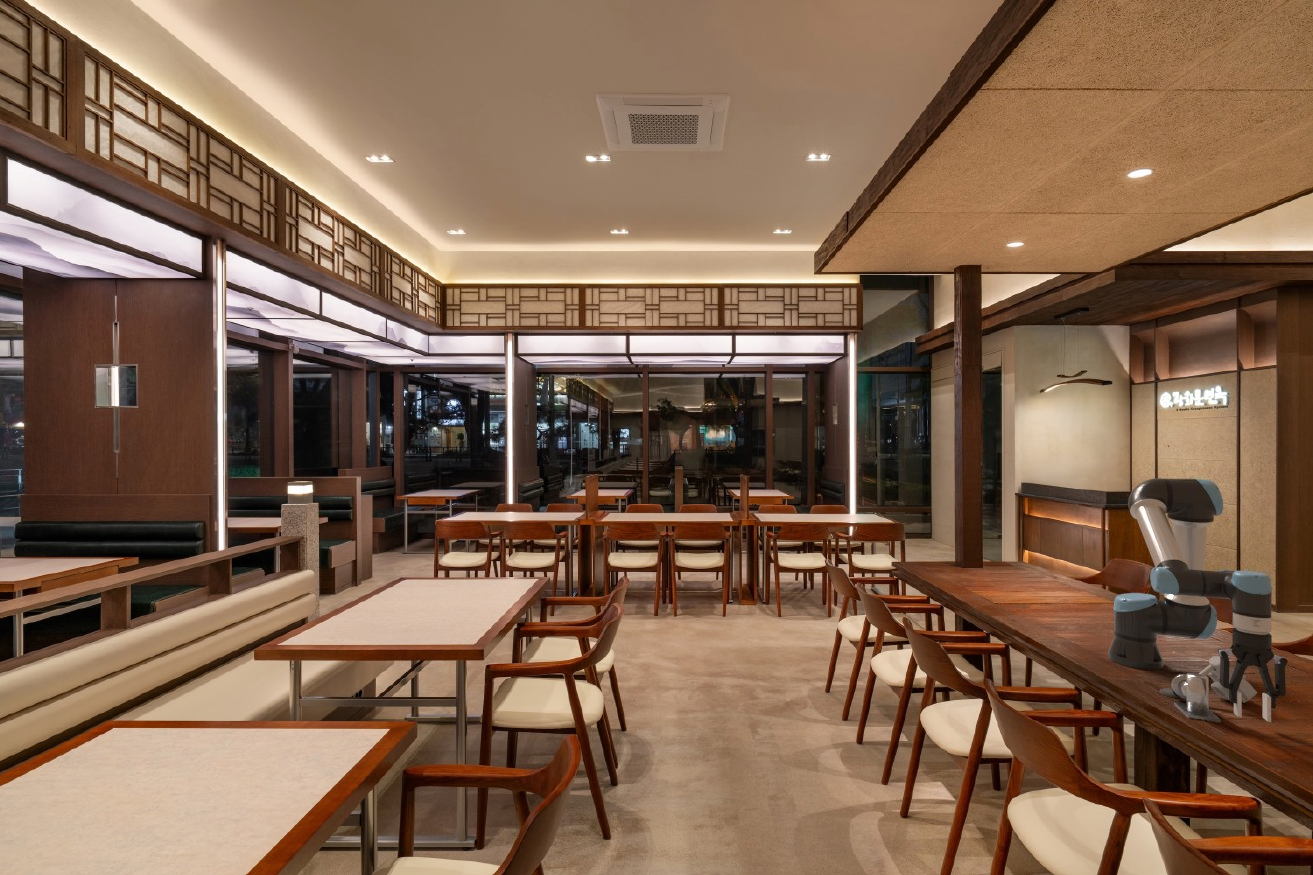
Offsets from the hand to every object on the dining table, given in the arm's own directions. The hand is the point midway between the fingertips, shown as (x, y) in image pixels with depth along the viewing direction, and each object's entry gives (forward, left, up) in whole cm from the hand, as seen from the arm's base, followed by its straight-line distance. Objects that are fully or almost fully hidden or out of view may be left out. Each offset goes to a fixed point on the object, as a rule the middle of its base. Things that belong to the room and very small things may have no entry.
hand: (1252, 717), depth 162 cm
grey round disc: (-18, -12, -3) cm, 22 cm away
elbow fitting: (-3, -10, -3) cm, 11 cm away
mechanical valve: (-20, 0, -6) cm, 21 cm away
